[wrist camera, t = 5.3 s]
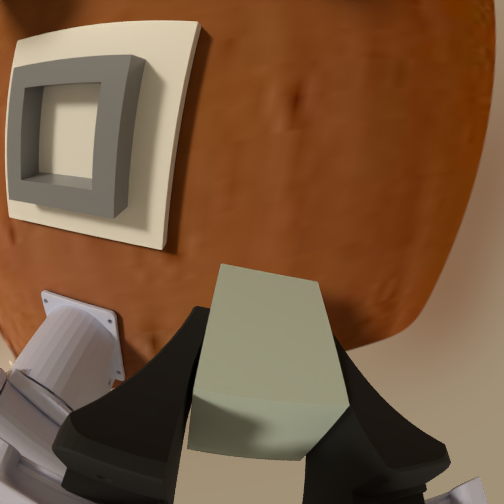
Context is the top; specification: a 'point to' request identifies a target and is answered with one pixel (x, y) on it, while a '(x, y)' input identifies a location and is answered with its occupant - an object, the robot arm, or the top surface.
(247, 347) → the plug block
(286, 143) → the top surface
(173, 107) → the dock
